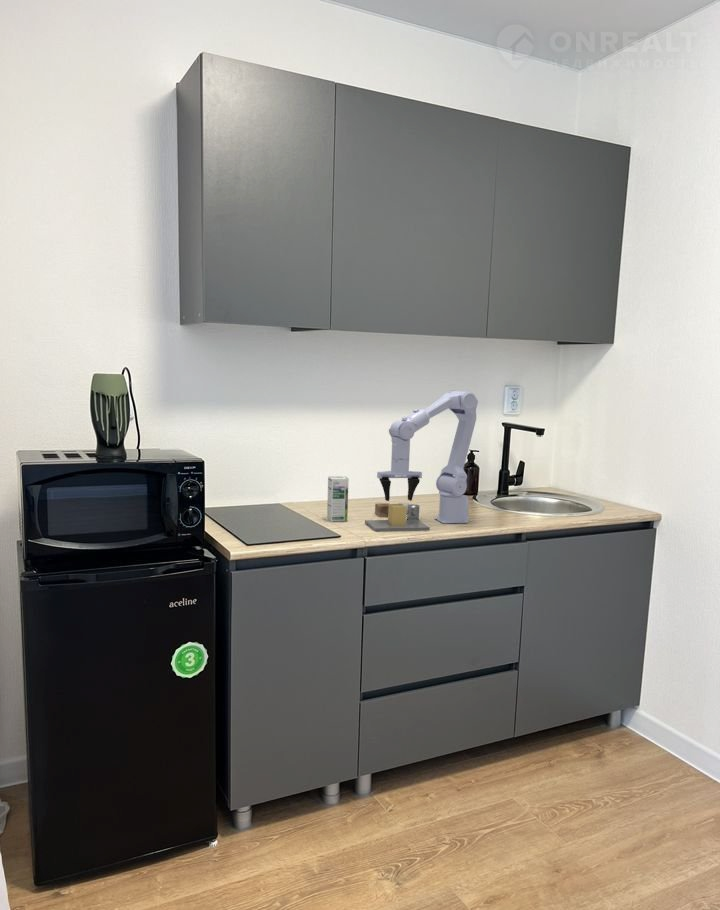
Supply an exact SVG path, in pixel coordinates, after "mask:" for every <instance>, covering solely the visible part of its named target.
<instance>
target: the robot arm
mask: <svg viewBox="0 0 720 910" xmlns="http://www.w3.org/2000/svg"><path fill="white" fill-rule="evenodd" d="M478 403H479V400H478V398H477V396H476V395H475V393H474V392H473V391H470V390H469V391H460V390H449V391H448V392H446V393H444V394H443V395H442V396H441V397H440V398H438V399H437V400H436V401H434V402H433V403H431V404H430V405H429V406H428V407H426V408H424V409H423V408H415V409H413V410H412V411H413V412H412V413H410V414H409V415H407V416H403V417H401V420H394V421H393V422H392V424H391V426H390V428H389V429H388V434H389V436H390V438H391V460H390V461H391V462H390V470H388V471H387V470H386V471H377V472H376V473H377V475H376V478H377V479H379V482H380V485H381V487H382V489H383V494H384V498H385V501H386V502H390V497H391V495H390V494H391V483H392V481H391V480H390V479H407V488H408V489H407V490H408V491H407V500H408V501H410V502H412V501H413V497H414V494H415V491H416V489H417V487H418V485H419V484H420V482H421V481H420V479H423V471H416V470H415V471H413V470H412V471H410V454H411V453H410V450H411V439H413V437H414V435H415V433H416V432H418V431H419V430H421V429H423V428H424V427H426V426H427V425H428V424H429V423H430V419H432V418H433V417H435V416H437V415H439V414H440V413H443V412H444V411H447V410H449V411H451V412H452V413H453V414H454V415H455V416H456V418H457V420H458V423H457V427H456V431H455V435H454V438H453V443H452V445H451V451H450V454H449V458H448V460H447V461H448V462H447V464H446V466H444V467H443V468H442V469H441V470H440V471H441V472H440V474H439V476H438V477H437V479H436V480H435V481H436V482H435V486H436V489H437V490H438V495H439V506H438V507H439V508H438V516H435V517H434V519H435V520H436V519H437V520H436V521H438V522H439V523H442V524H463V523H464V524H465V523H466V524H468V523H470V521H469V510H470V509H469V506H470V505H469V498H468V496H467V495H464V494H465V493H466V491H467V487H468V485H467V479H468V475H467V473H466V472H465V469H464V468H465V466H466V465H465V464H466V460H467V456H468V452H469V449H470V445H471V441H472V436H473V433H474V429H475V426H476V422H477V407H478Z"/></svg>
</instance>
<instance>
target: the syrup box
mask: <svg viewBox="0 0 720 910" xmlns="http://www.w3.org/2000/svg"><path fill="white" fill-rule="evenodd" d="M348 500H349V478H348V477H347V476H345V475H340V476H339V475H335V476H333V475H332V476H331V475H329V476H327V506H326V509H327V512H326V514H327V515H326V518H327V519H328V520H329V522H348V509H349V508H348V507H349V501H348Z"/></svg>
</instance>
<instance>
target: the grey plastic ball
mask: <svg viewBox="0 0 720 910" xmlns="http://www.w3.org/2000/svg"><path fill="white" fill-rule="evenodd" d="M397 504H403V505H405V506H406V515H407V510H408V505H409V504H410V503H406V502H398V503H397Z"/></svg>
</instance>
